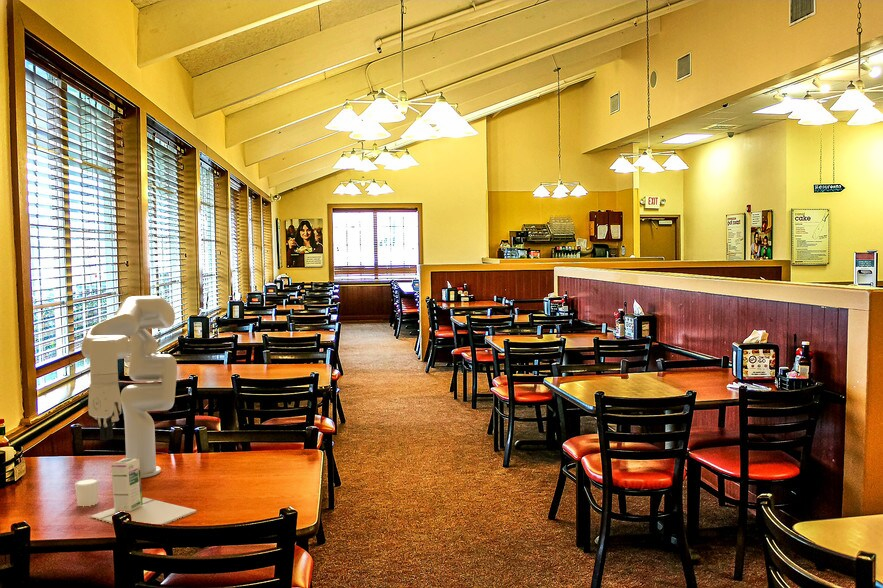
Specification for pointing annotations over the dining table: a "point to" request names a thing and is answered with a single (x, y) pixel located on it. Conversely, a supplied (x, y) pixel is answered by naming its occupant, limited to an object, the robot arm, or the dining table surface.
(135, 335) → the robot arm
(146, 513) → the mat
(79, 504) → the white short cylinder
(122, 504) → the syrup box
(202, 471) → the dining table surface
